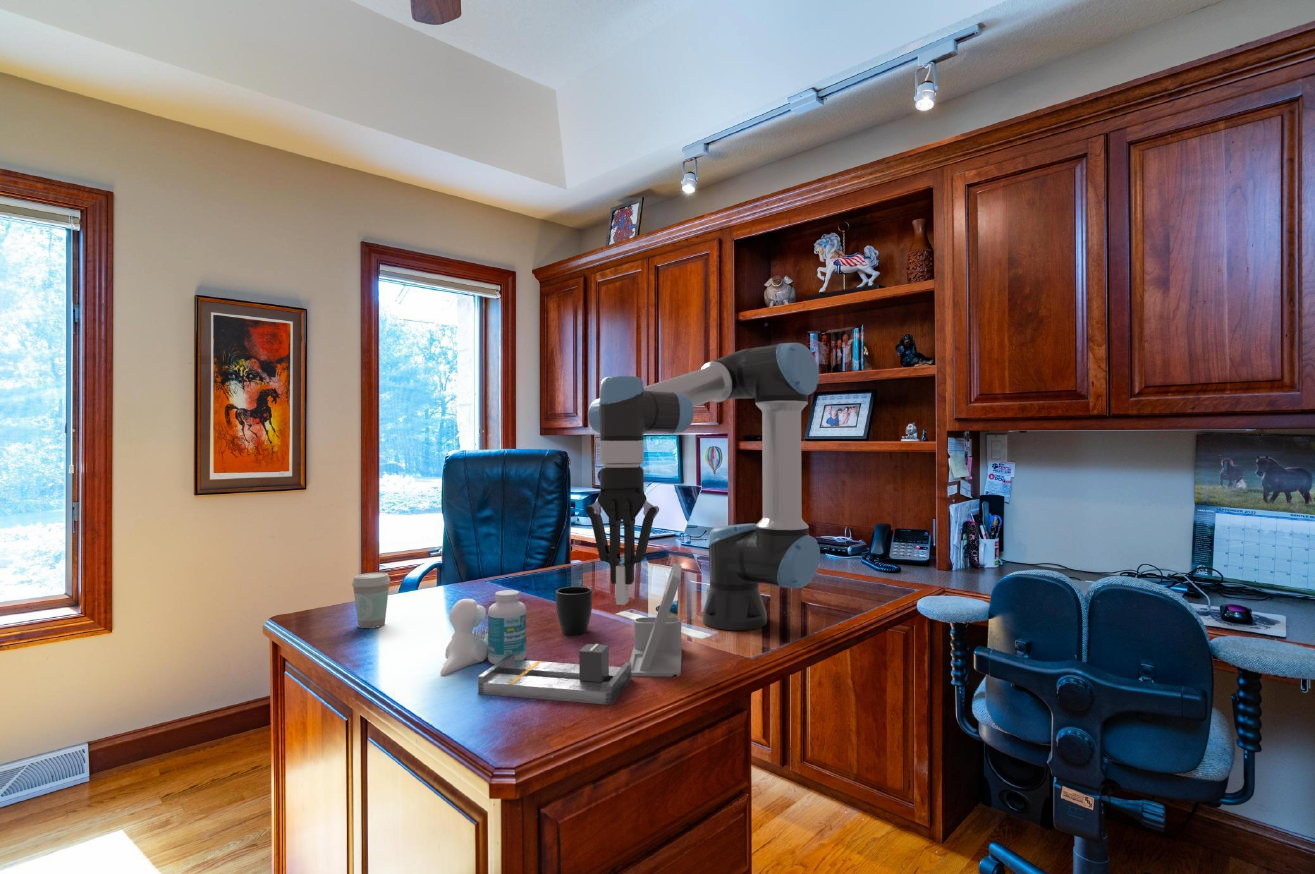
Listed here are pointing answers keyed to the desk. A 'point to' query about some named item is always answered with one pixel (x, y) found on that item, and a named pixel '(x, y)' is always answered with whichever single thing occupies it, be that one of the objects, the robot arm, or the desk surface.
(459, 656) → the figurine
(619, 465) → the robot arm
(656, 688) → the desk surface
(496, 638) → the pill bottle
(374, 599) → the coffee cup
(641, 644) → the phone holder
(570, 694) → the console
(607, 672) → the block
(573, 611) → the mug
